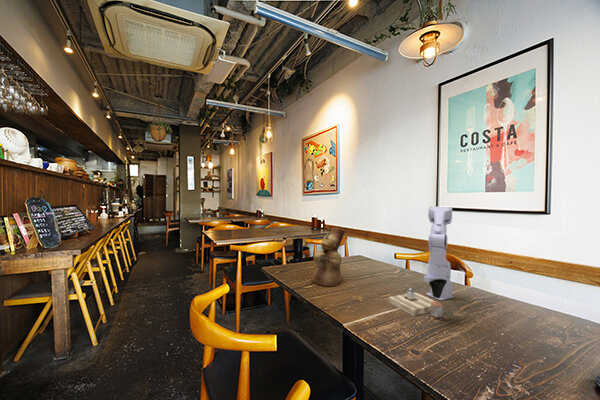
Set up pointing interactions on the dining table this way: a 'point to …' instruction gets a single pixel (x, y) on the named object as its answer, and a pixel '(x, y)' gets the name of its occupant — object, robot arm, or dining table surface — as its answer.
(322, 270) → the ceramic vessel
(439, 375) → the dining table surface
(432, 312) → the plunger housing
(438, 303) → the cap
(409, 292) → the steel pin
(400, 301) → the block
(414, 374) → the dining table surface
